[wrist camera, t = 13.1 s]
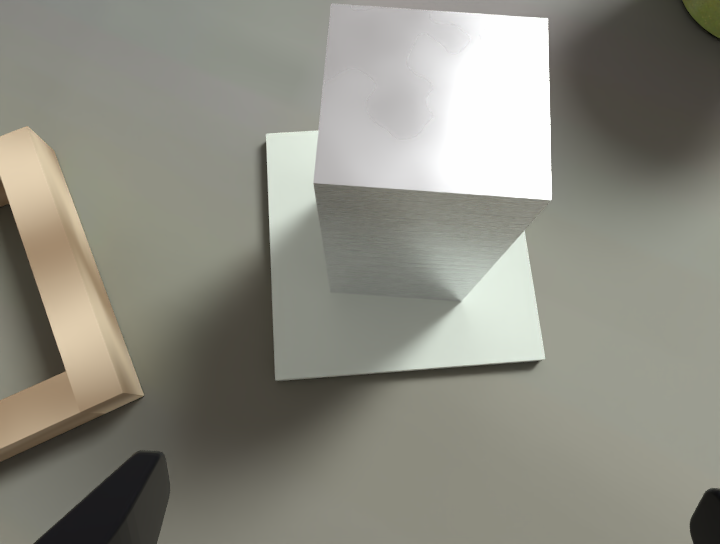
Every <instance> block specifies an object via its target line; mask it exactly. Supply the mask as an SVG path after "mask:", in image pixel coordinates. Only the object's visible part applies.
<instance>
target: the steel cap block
mask: <svg viewBox="0 0 720 544" xmlns="http://www.w3.org/2000/svg"><path fill="white" fill-rule="evenodd" d="M313 184H314V191H315V197H316V204H317V210H318V216H319V223H320V229H321V236H322V242H323V248H324V255H325V261H326V268H327V274H328V280H329V287H330V292H334V293H348V294H362V295H376V296H390V297H404V298H418V299H432V300H446V301H460V302H462V300H463V299H464V298H465V297H466V296H467V295H468V294H469V293H470V291H471V290H472V289H473V288H474V287H475V286H476V285H477V284H478V282H479V281H480V280H481V279H482V278H483V277H484V276H485V275H486V273H487V272H488V271H489V270H490V269H491V268H492V267H493V265H494V264H495V263H496V262H497V261H498V260H499V259H500V258H501V256H502V255H503V254H504V253H505V252H506V251H507V250H508V249H509V247H510V246H511V245H512V244H513V243H514V242H515V241H516V240H517V238H518V237H519V236H520V235H521V234H522V233H523V232H524V230H525V229H526V228H527V227H528V226H529V225H530V224H531V223H532V221H533V220H534V219H535V218H536V217H537V216H538V215H539V214H540V212H541V211H542V210H543V209H544V208H545V207H546V206H547V205H548V203H549V202H550V201H551V200H552V198H551V151H550V104H549V58H548V19H547V18H533V17H518V16H504V15H489V14H475V13H461V12H446V11H432V10H417V9H403V8H389V7H374V6H360V5H345V4H331V10H330V20H329V30H328V40H327V50H326V60H325V70H324V80H323V90H322V101H321V111H320V121H319V131H318V141H317V151H316V161H315V171H314V181H313Z"/></svg>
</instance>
